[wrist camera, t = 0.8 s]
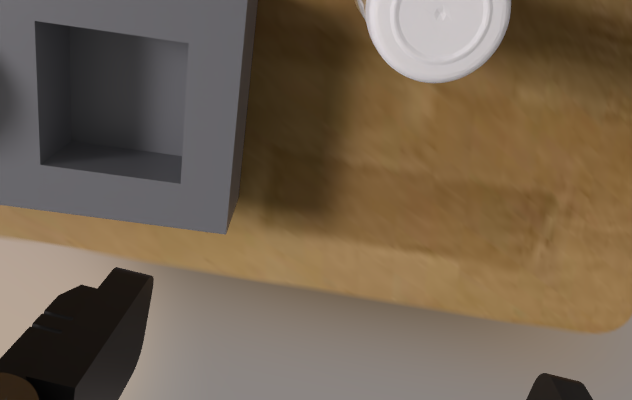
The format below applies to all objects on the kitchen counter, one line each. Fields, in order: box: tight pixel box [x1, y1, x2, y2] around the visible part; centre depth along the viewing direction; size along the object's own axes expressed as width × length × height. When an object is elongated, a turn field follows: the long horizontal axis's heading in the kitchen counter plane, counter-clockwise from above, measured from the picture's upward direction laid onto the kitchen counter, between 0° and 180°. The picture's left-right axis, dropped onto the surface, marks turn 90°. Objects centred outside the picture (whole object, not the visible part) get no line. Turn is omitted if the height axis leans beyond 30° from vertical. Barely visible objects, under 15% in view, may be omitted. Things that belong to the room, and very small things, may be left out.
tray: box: [0, 0, 258, 234], centre depth 29 cm, size 12×22×8 cm, turn 82°
